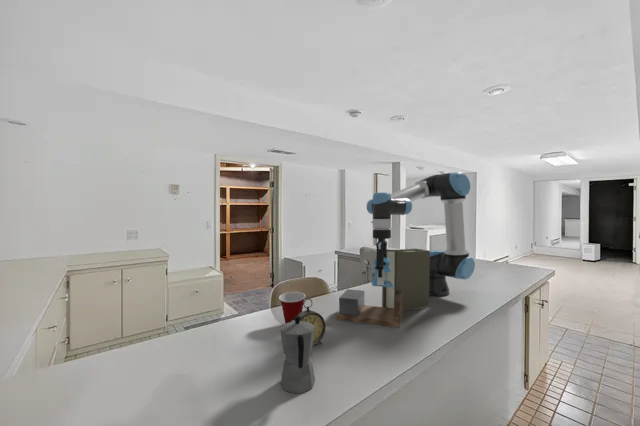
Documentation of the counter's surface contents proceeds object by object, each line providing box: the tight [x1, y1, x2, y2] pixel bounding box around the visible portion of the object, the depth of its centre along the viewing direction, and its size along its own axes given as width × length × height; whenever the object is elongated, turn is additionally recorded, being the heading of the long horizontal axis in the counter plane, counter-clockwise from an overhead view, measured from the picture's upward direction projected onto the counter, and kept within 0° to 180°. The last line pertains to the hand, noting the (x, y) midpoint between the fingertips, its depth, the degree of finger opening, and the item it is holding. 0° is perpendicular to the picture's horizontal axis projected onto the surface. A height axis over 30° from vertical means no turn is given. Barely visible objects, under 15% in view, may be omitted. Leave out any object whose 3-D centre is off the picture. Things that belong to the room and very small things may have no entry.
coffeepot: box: [279, 316, 316, 394], centre depth 78 cm, size 15×9×18 cm, turn 10°
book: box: [381, 248, 431, 313], centre depth 141 cm, size 22×9×28 cm, turn 118°
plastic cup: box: [278, 291, 307, 324], centre depth 119 cm, size 11×11×12 cm
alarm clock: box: [297, 298, 327, 347], centre depth 101 cm, size 11×5×16 cm, turn 117°
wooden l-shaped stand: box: [335, 291, 404, 328], centre depth 128 cm, size 26×16×10 cm, turn 70°
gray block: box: [338, 288, 365, 316], centre depth 131 cm, size 8×14×7 cm, turn 160°
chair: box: [371, 257, 393, 288], centre depth 126 cm, size 8×8×12 cm
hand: (381, 282), depth 126 cm, fingers closed on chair, 7 cm apart
